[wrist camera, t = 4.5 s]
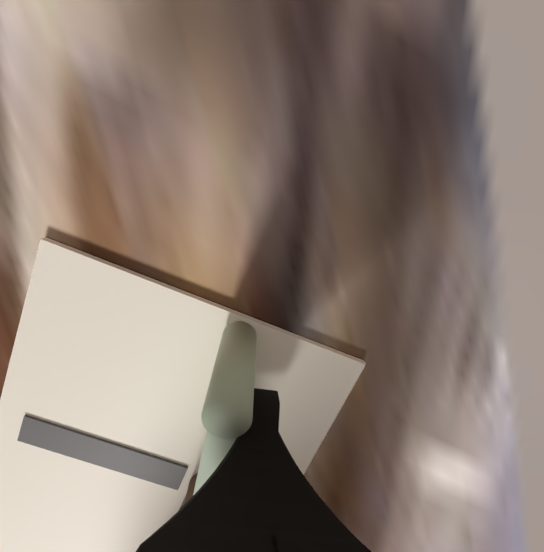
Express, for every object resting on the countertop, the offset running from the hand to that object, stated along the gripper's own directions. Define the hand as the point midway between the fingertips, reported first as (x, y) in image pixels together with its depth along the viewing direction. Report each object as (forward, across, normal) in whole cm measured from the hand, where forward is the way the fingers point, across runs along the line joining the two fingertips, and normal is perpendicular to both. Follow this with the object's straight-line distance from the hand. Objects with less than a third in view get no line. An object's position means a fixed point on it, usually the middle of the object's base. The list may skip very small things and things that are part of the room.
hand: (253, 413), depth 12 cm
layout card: (+2, +4, +4) cm, 6 cm away
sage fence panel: (+1, +1, +1) cm, 2 cm away
